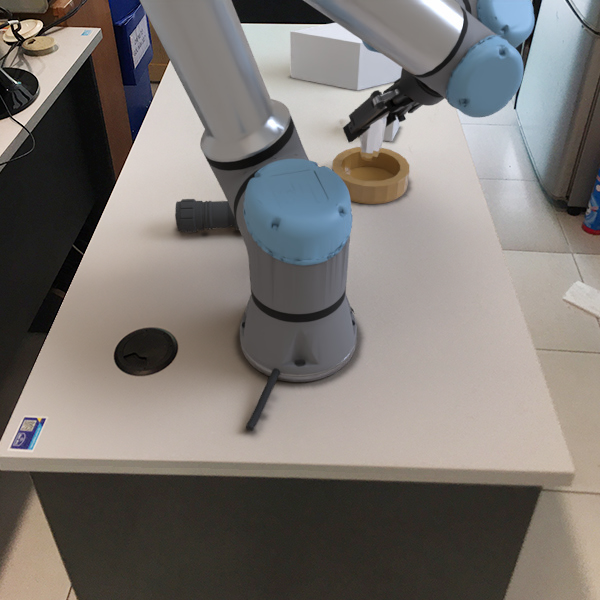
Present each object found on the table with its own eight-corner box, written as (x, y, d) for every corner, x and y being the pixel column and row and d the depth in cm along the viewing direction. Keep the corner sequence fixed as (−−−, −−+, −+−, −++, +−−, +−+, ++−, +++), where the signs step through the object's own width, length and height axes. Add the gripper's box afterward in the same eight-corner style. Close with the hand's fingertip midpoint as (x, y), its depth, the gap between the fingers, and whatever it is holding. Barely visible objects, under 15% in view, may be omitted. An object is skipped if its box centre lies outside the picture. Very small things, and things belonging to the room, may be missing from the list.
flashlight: (176, 240, 98) (171, 211, 95) (179, 220, 102) (174, 191, 99) (274, 236, 99) (273, 208, 95) (273, 216, 103) (272, 188, 99)
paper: (290, 64, 148) (289, 19, 142) (412, 63, 149) (418, 18, 142) (291, 91, 138) (290, 43, 131) (423, 89, 138) (429, 42, 131)
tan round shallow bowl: (375, 213, 104) (377, 195, 101) (316, 183, 110) (316, 166, 108) (422, 182, 111) (424, 164, 108) (363, 155, 117) (365, 138, 115)
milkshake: (386, 165, 105) (393, 108, 98) (354, 161, 106) (359, 104, 99) (389, 152, 108) (396, 96, 102) (358, 148, 109) (363, 93, 102)
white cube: (391, 141, 121) (394, 112, 117) (361, 136, 123) (363, 107, 119) (399, 127, 125) (402, 99, 121) (370, 123, 127) (372, 94, 123)
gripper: (397, 110, 82) (325, 165, 104) (495, 80, 89) (408, 137, 111) (375, 56, 82) (308, 123, 104) (476, 30, 89) (393, 98, 111)
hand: (360, 130), depth 107 cm, fingers closed on milkshake, 5 cm apart
